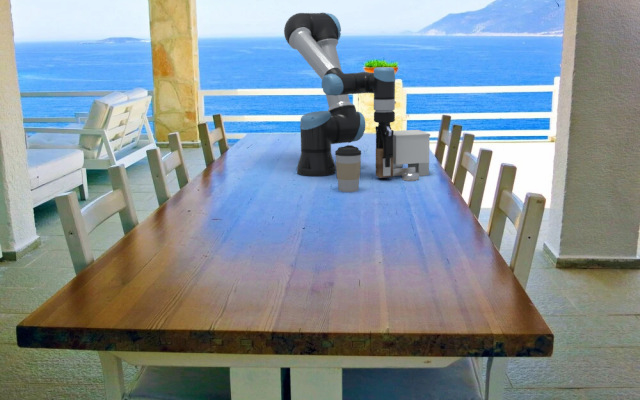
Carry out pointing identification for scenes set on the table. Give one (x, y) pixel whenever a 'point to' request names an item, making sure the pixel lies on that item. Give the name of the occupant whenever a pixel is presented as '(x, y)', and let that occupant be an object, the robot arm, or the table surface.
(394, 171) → the wood grain block
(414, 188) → the table surface
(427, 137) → the cabinet
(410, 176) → the silver shallow dome
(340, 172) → the coffee cup
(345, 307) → the table surface
